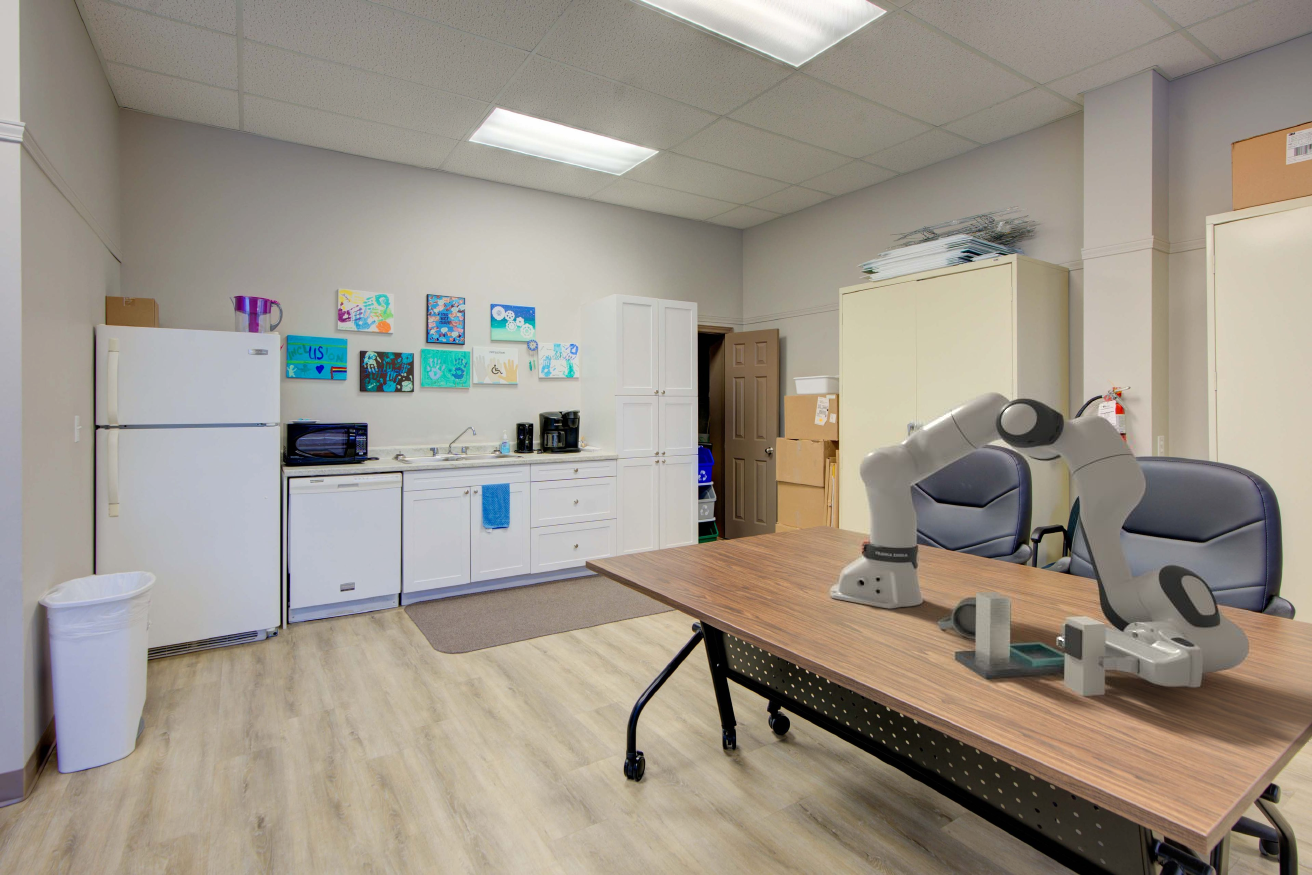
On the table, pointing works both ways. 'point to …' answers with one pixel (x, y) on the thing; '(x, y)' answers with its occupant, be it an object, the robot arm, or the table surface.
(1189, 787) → the table surface
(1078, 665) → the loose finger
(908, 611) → the table surface
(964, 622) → the ceramic mug
